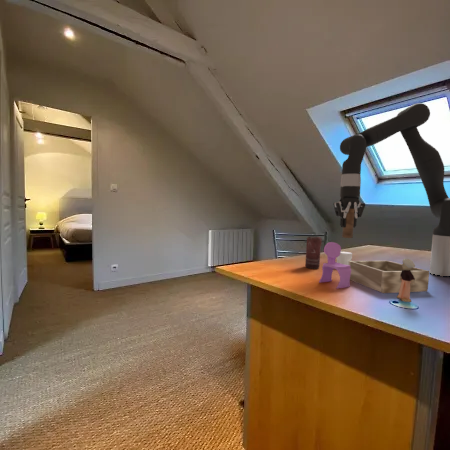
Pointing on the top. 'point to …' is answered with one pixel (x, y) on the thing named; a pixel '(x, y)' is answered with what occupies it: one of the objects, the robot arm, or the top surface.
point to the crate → (386, 276)
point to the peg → (349, 225)
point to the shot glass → (344, 258)
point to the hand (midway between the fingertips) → (348, 227)
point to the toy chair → (335, 266)
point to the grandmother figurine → (406, 280)
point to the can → (313, 252)
